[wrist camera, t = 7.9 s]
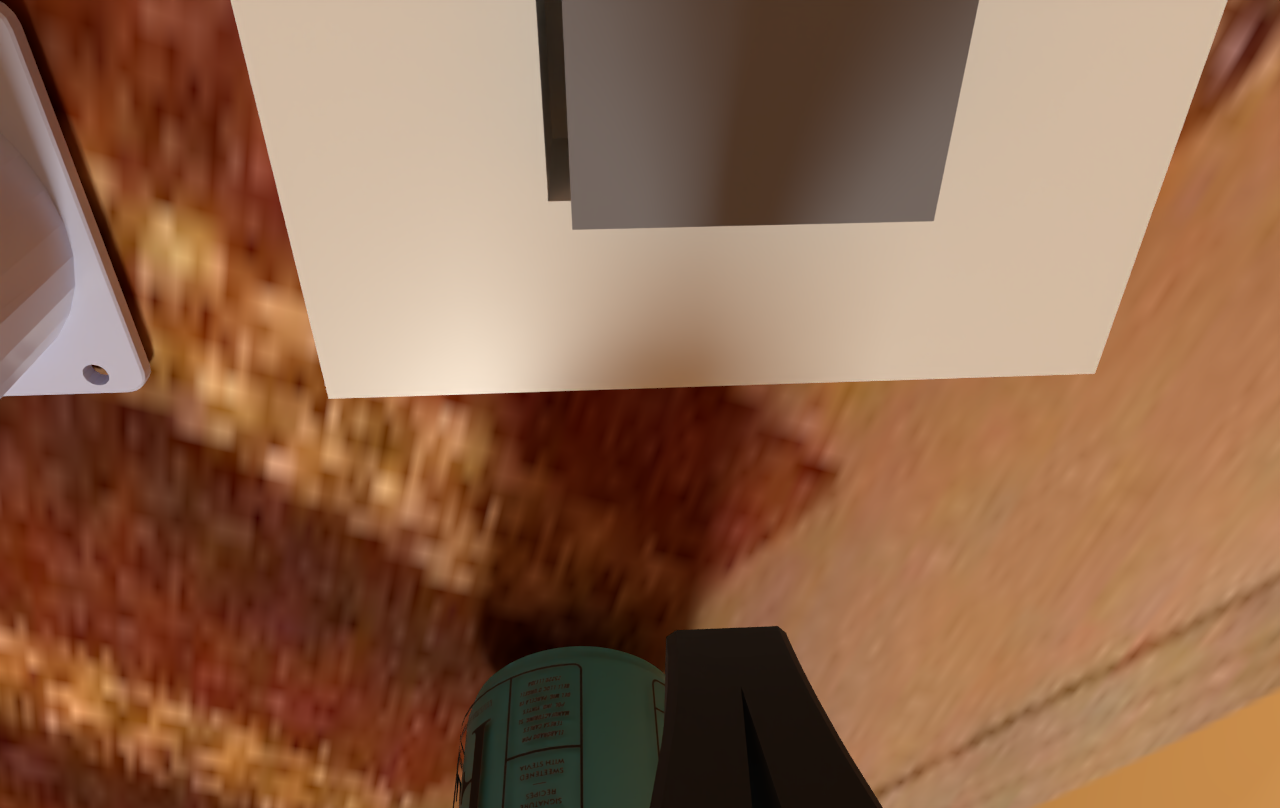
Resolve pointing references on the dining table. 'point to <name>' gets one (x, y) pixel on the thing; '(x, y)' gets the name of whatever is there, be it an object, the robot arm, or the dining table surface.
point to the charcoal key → (760, 110)
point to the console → (699, 256)
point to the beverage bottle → (565, 732)
